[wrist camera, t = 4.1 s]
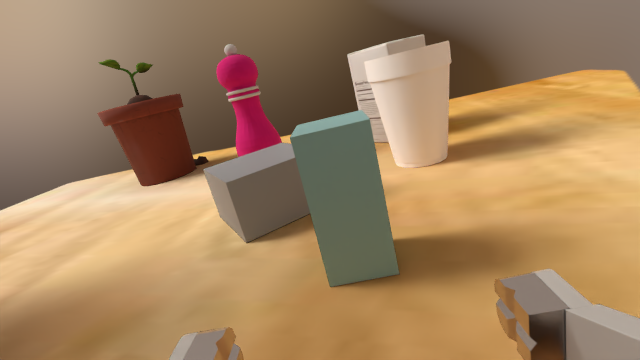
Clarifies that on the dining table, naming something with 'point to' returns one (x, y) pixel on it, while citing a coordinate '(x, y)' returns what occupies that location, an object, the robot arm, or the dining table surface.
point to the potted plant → (151, 134)
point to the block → (345, 197)
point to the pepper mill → (246, 102)
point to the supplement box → (363, 86)
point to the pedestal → (258, 191)
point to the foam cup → (414, 102)
